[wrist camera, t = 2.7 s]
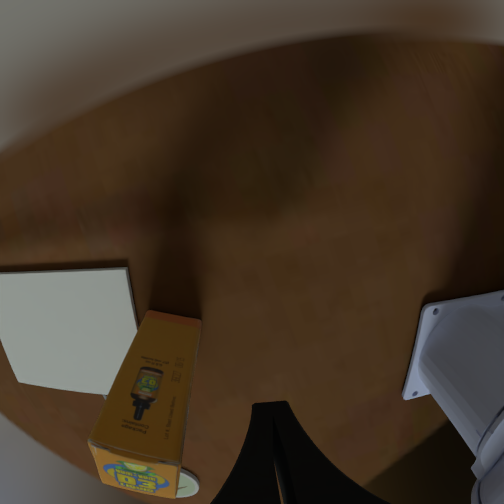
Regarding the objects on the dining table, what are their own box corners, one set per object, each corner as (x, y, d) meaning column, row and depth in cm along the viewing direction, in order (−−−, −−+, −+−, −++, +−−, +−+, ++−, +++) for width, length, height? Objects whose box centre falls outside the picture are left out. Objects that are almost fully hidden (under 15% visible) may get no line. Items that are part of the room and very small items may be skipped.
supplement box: (144, 354, 18) (94, 484, 9) (148, 306, 17) (81, 435, 8) (196, 365, 19) (176, 505, 9) (204, 318, 18) (181, 461, 8)
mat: (127, 267, 17) (125, 269, 16) (155, 393, 19) (154, 397, 19) (-17, 273, 16) (-20, 274, 16) (20, 379, 19) (18, 381, 18)
